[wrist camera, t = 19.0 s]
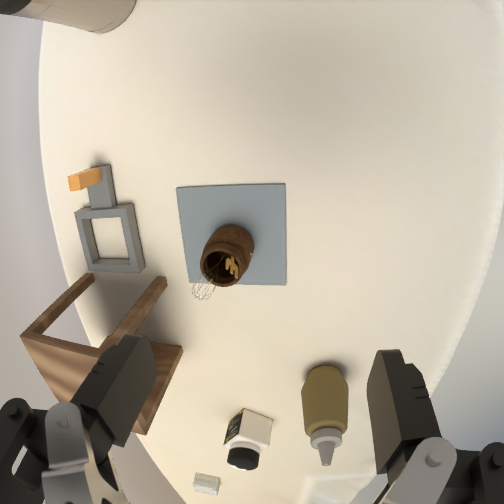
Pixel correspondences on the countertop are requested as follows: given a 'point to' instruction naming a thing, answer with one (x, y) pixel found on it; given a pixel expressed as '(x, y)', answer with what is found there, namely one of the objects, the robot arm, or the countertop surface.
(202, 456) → the countertop surface
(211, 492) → the small box
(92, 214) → the sliding frame
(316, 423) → the squeeze bottle
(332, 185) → the countertop surface
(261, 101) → the countertop surface
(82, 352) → the walnut shelf
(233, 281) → the utensil holder
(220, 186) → the slate mat
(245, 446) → the medicine bottle
